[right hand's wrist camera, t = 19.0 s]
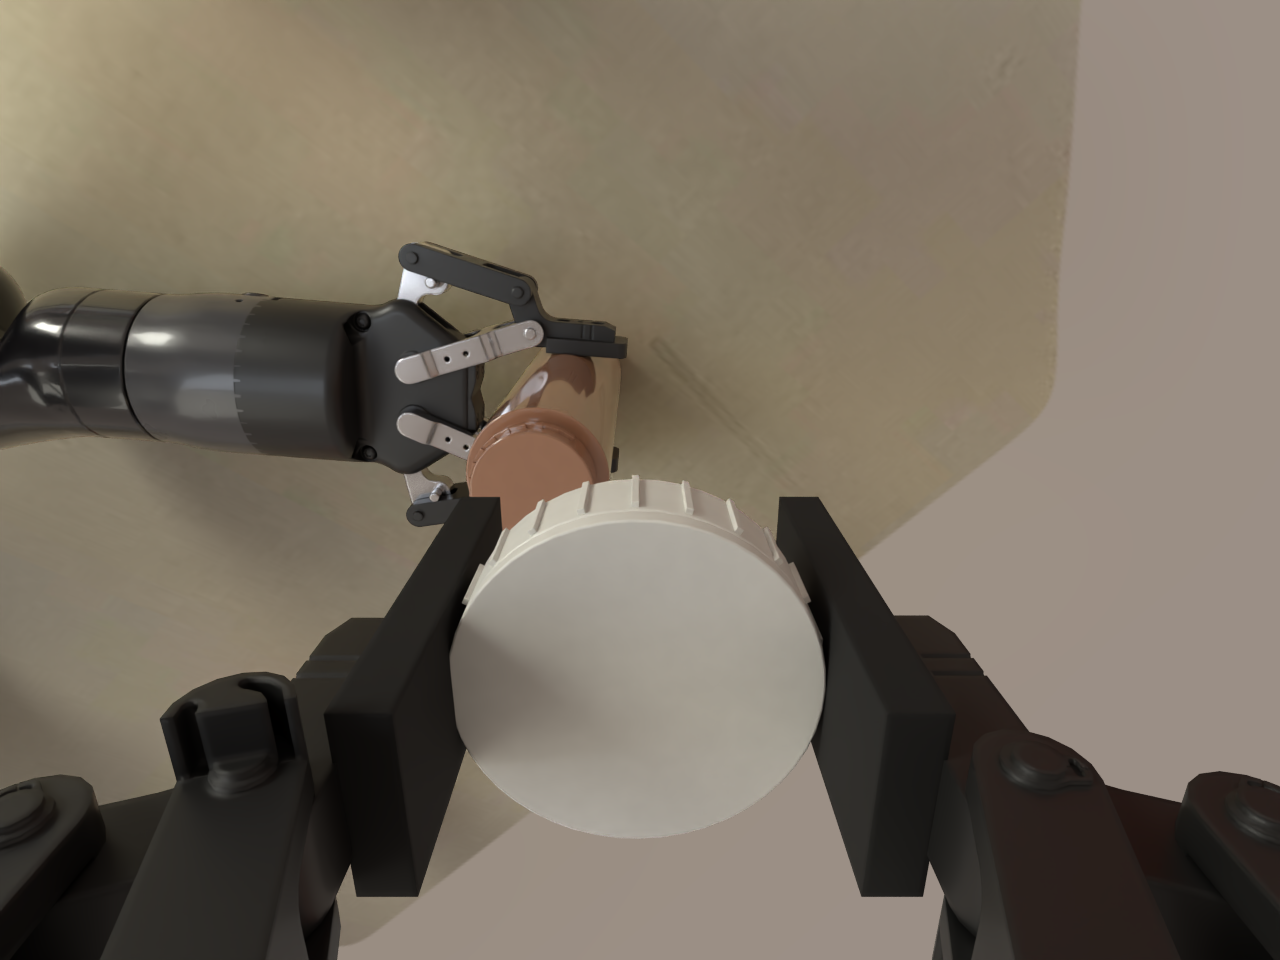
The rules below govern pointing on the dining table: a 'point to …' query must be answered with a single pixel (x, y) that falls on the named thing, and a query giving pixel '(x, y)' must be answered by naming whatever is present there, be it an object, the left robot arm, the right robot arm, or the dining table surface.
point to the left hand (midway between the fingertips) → (620, 404)
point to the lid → (637, 661)
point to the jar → (547, 434)
